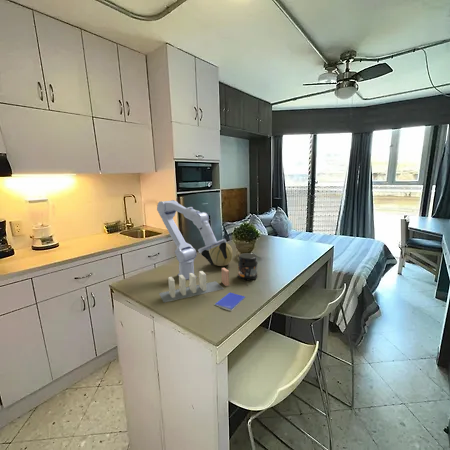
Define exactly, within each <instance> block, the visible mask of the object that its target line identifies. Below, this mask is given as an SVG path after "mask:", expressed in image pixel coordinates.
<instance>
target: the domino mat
mask: <svg viewBox="0 0 450 450" xmlns="http://www.w3.org/2000/svg"><path fill="white" fill-rule="evenodd" d="M220 290H225V288H224V287H223V286H222V285H221V284H220V283H218V282H217V281H216V280H215V281H210V282H206V291H203V290H202V289H201V288H200V284H196V292H197V293H193V292H192V291H191V290H190V286H186V295H182V294H181V292H180V288H177V289H176V288H175V297H174V298H172V297H171V296H170V294H169V290H167V291H162V292H159V293H158V295H159V296H160V298H161V301H162V302H163V303H168V302H172V301H177V300H182V299H186V298H191V297H193V296H194V297H195V296H199V295H203V294H208V293H211V292H218V291H220Z"/></svg>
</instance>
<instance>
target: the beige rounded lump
mask: <svg viewBox="0 0 450 450" xmlns="http://www.w3.org/2000/svg"><path fill="white" fill-rule="evenodd" d="M214 246H216V245H214ZM219 246H220V245H219ZM219 246H216V247H214V248H211V247H210V248H211V249H209V253H210V256H211V259H212V261H213V263H214V264H213V265H215V266H218V267H224V266H225V267H226V266H227V265H229V264H230V263H231V262H232V260H233V256H234V250H233V248H232V246H231V245H230V244H229V243H227V242H226V253H227V259H225V258H224V256H223V254H222V252H221V250H220V249H219ZM212 247H213V246H212Z"/></svg>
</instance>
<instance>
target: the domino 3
mask: <svg viewBox="0 0 450 450" xmlns="http://www.w3.org/2000/svg"><path fill="white" fill-rule="evenodd" d="M196 277H197V275H195V273H194V274H193V273H189V279H188V281H189V287H190V290H191V291H192V292H193V293H197V292H196V285H197V278H196Z"/></svg>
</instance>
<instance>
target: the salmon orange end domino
mask: <svg viewBox="0 0 450 450" xmlns="http://www.w3.org/2000/svg"><path fill="white" fill-rule="evenodd" d="M229 274H230V270H228V269H227V268H225V267H221V283H222V284H223V285H224V286H225V287H228V286H229V285H230V275H229Z"/></svg>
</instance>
